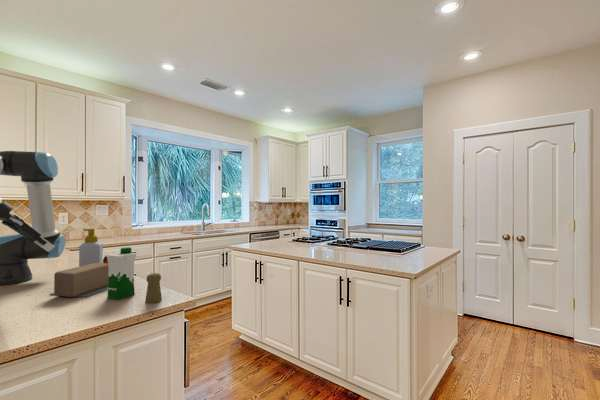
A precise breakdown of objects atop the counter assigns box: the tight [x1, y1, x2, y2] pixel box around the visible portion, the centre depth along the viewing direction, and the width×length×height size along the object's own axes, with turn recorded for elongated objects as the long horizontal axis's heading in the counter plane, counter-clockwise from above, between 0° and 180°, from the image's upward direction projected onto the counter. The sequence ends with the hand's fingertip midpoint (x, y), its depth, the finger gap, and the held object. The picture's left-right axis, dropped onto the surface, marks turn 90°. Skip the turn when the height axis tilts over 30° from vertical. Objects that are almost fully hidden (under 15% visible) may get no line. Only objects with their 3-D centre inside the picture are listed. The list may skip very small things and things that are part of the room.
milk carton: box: [106, 247, 137, 301], centre depth 123 cm, size 9×9×20 cm
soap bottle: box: [78, 228, 104, 267], centre depth 155 cm, size 9×9×25 cm
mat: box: [49, 286, 108, 298], centre depth 132 cm, size 18×18×1 cm
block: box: [53, 263, 108, 298], centre depth 130 cm, size 10×10×20 cm
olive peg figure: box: [144, 272, 163, 305], centre depth 117 cm, size 6×6×11 cm
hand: (51, 248), depth 115 cm, fingers closed
